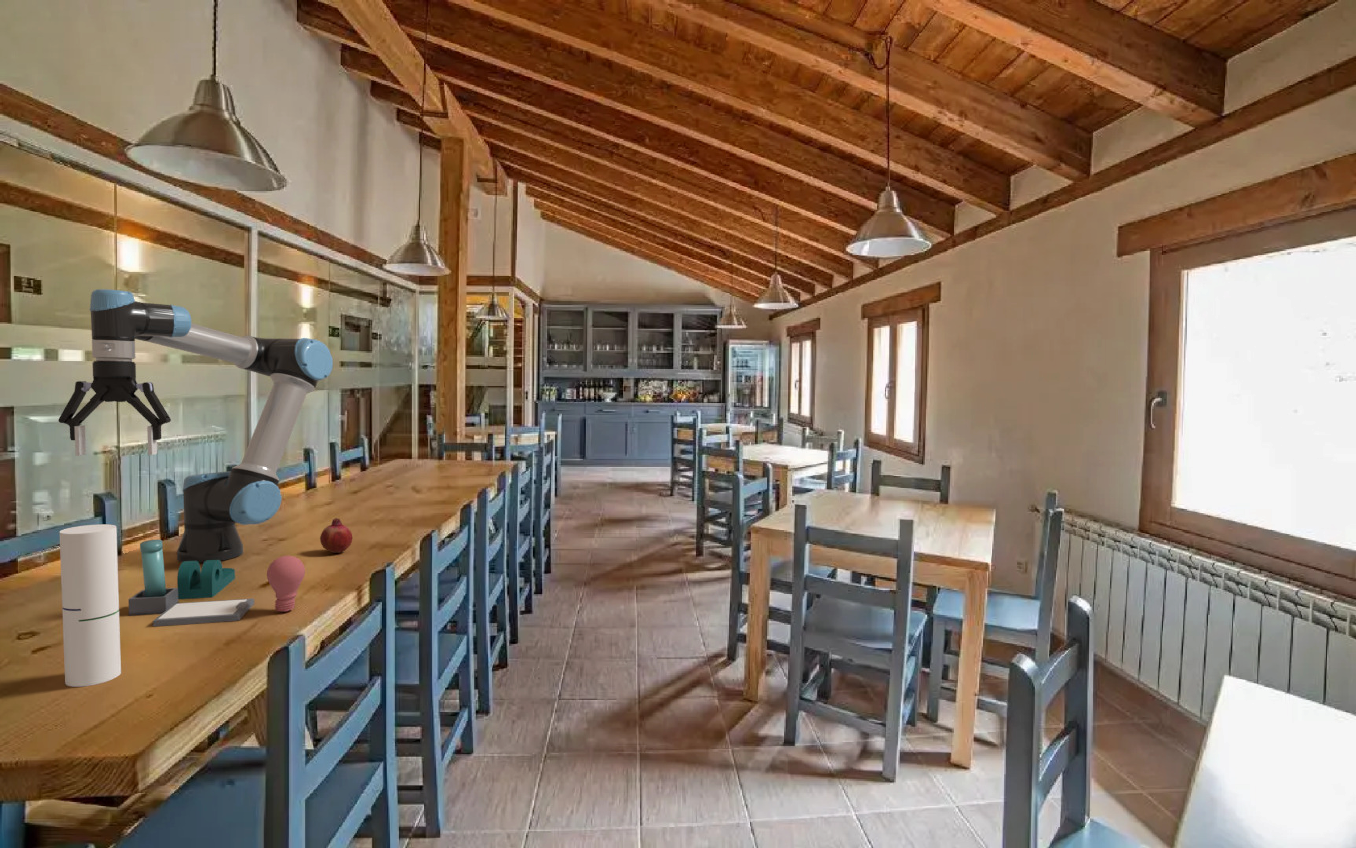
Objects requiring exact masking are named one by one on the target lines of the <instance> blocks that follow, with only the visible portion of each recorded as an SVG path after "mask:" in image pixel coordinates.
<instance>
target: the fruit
mask: <svg viewBox="0 0 1356 848" xmlns="http://www.w3.org/2000/svg"><path fill="white" fill-rule="evenodd" d="M319 539H320V544H321V546H322V548H323V549H325V550H326V551H327V552H330V553H334V554H339V553H342V552H345V551H346V550H348V548H349V547H351V545H352V542H353V533H352V531H351V529H349V527H347V526H346V525H344V524H343V523H342V521H341V519H340V518H337V517H336V518H334V519H332V522H331V524H330V525H328V526H326V527H325V528H324V529H323V530H322V532H321V534H320V537H319Z"/></svg>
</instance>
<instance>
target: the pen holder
mask: <svg viewBox="0 0 1356 848" xmlns="http://www.w3.org/2000/svg"><path fill="white" fill-rule="evenodd" d="M175 603H179V599H178V587H170V588H167V587H166V595H165V596H163V597H146V598H145V589H141V590H140V591H138V592H137V593H135V594H134V595H132V596H131V597H129V598H128V616H130V617H132V616H142V615H143V616H145V615H158V614H159V615H161V614H162V613H163V612H165V611H166V610H167V609H168V608H170V607H171V606H172V605H174V604H175Z"/></svg>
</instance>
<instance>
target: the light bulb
mask: <svg viewBox="0 0 1356 848" xmlns="http://www.w3.org/2000/svg"><path fill="white" fill-rule="evenodd" d="M267 567H268V568H267V570H266V579H267V581H268V583H269V585H270V587H271V588H272V589H273V591H274V592H275V601H274V603H275V604H274V609H275V611H277V612H285V613H286V612H288V611H291V610H293V609H295V603H296V597H297V595H298V589H299V588H300V586H301V584H302V582H303V580H304V577H305V574H306V568H305V565H304V563H303V562H302V560H301V559H299V558H298V557H295V556H293V555H282V556H280V557H277V558H275V559H274V560H273V561H272V562H271V563H270V564H269V566H267Z"/></svg>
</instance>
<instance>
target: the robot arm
mask: <svg viewBox="0 0 1356 848" xmlns="http://www.w3.org/2000/svg"><path fill="white" fill-rule="evenodd" d="M89 312H90V324H91V330H90V331H91V339H92V340H91V352H92V353H91V354H92V355H91V357H92V358H94V359H95V360H93V362H92V378H93V381H91V382H87V381H86V380H83V381H82V380H81V381H80V380H78V381H76V382H75V385H74V392H73V393H72V395H71V397H70V398H69V400H68V402H67V404H66V406H65V407H64V409H63V411H62V412H61V414H60V416H59V418H58V419H57V420H58V422H59V423H60V424H65V425H67V426H69V438H70V440H71V441H74V452H75V457H80V456H84V455H87V449H86V448H87V447H86V446H87V444H86V443H87V442H86V425H82V423H83V422H84V421H85V420H86V419H87V418H88V417H89V416H90V415H91V414H92V413H93V412H94V411H95V410H96V409H97V408H98V407H99V406H100V405H101V404H103V403H104V402H105V403H111V402H117V403H125V402H126V403H128V404H129V405H130V406H131V407H133V408H134V409H135V410H136V411H137V413H139V414H140V415H141V416H142V417H143V418H144V419H145V420H146V421H147V422H148V423H149V424H150V425H149V426H146V427H147V428H146V429H147V456H153V455H157V454H158V443H157V442H158V441H159V440H161V439H162V426H163V425H164V424H168V423H170V422H171V421H172V419H171V417H170V416H169V414H168V412H167V410H166V409H165V407H164V406H163V404H162V403H161V402H162V401H161V400H160V399H159V398H158V395H157V394H156V392H155V388H154V383H153V382H150V381H149V382H147V381H146V382H143V383H138V382H137V380H136V379H137V371H136V370H137V368H136V365H137V363H135V361H133V360H135V359H136V340H138V341H143V342H148V343H152V344H155V345H160V346H164V347H168V348H172V349H176V350H179V351H183V352H188V353H191V354H196V355H200V356H203V357H209V358H212V359H217V360H220V361H224V362H228V363H233V364H234V365H235V367H237V368H238V369H242V370H246V371H249V372H252V373H256V374H260V375H263V376H267V377H270V379H271V381H272V382H273V385H272V387H271V390H270V392H269V395H268V397H267V400H266V402H265V404H264V407H263V409H262V412H261V414H260V416H259V419H258V421H257V423H256V426H255V429H254V431H253V434H252V436H251V438H250V441H249V444H248V445H247V448H246V450H245V452H244V453H245V454H244V455H243V458H242V459H241V463H239V464H238V465H235V466H233V467H231V470H230V471H217V472H210V473H208V472H207V473H199V474H193V475H187V476H186V477H185V478H184V479H183V486H182V493H183V497H182V499H183V524H184V525H183V527H184V531H183V534H182V537H181V539H180V541H179V545H178V548H177V550H176V557H177V558H176V560H177V561H179V562H181V563H182V562H184V561H198V562H199V564H200V563H201V564H204V562H205V561H206V560H220V561H221V562H222V561H226V560H230V559H234V558H237V557H240V556H242V555H243V554H244V544H243V542H242V540H241V537H240V534H239V532H238V530H237V527H236V524H240V525H244V526H245V525H259V524H260V525H261V524H263V523H265V522H267V521H269V520H270V519H271V518H273V517H274V516H275V514H277V512H278V511H279V508H280V506H281V504H282V499H283V498H282V497H283V496H282V495H281V490H280V487H279V486H278V485H279V483H280V478H279V477H278V475H277V471H278V468H279V466H280V463H281V461H282V458H283V455H284V454H285V450H286V448H287V445H288V443H289V441H290V438H291V436H292V432H293V430H294V428H295V424H296V423H297V419H298V417H299V414H300V411H301V409H302V407H303V404H304V402H305V400H306V396H307V394H310V393H312V392H314V391H315V389H316V387H317V385H318V382H319V381H322V380H324V379H327V378H328V377H329V376H330V374H331V373H332V370H333V366H334V365H333V363H334V360H333V356H332V355H331V350H330V349H329V347H328V346H327V345H326V344H325V343H324V342H322V341H320V340H318V339H314V338H307V337H302V338H266V337H265V338H263V337H255V336H252V335H247V334H246V335H243V336H239V335H235V334H231V333H227V332H224V331H221V330H217V329H213V328H210V327H206V326H203V325H199V324H196V323H192V317H191V314H190V312H189V311H188V309H186V308H185V307H183V306H178V305H174V304H162V303H150V302H140V301H136V299H135V297H134V294H133V292H131V291H126V290H119V289H107V288H101V289H95V290H93V291H92V292H91V294H90V305H89ZM90 390H92V391H93V392H94V393H95V394H94V395H92V397H91V398H89V401H88V402H87V403H86V404H84V406H83V407H82V408H81V409H80V410H79V411H78V412H77V410H78V409H79V407H80V405H81V403H82V402H83V399H84V398H85V397H86V394H87V392H89V391H90ZM138 390H140V392H142V393H143V395H144V397H145V398H146V401H148V403H149V405H150V407H151V409H152V410H153V411H154V412H153V411H152V410H151V409H149V408H148V407H147V405H145V404H144V402H142V401H141V399H140V398H139V396H137V395H136V394H135V393H136V392H137V391H138ZM154 413H155V414H154Z"/></svg>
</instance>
